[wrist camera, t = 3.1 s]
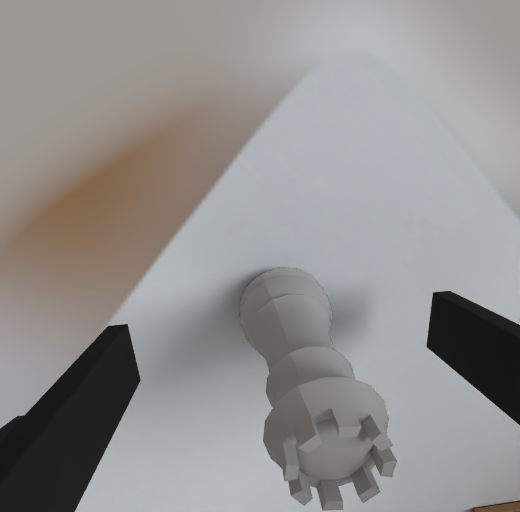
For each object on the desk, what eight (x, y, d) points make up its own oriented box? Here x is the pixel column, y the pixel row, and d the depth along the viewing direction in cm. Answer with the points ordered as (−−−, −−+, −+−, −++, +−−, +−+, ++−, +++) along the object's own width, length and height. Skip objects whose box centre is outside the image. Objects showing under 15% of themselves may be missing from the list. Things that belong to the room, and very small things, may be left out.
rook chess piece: (222, 291, 13) (197, 453, 5) (300, 247, 12) (398, 349, 5) (265, 355, 14) (298, 563, 6) (337, 316, 14) (463, 485, 6)
